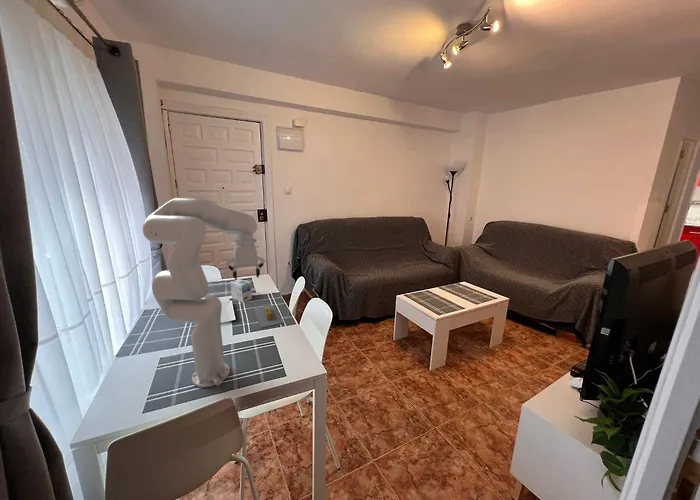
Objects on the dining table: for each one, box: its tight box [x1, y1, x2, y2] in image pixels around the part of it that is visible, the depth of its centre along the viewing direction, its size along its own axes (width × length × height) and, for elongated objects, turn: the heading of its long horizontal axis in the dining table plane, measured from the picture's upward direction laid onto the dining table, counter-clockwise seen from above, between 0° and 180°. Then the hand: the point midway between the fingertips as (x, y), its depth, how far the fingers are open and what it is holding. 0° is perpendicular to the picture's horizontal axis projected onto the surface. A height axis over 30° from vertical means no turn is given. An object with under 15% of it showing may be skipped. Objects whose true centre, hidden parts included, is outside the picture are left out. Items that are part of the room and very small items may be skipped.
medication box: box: [262, 303, 273, 321], centre depth 146 cm, size 12×3×4 cm, turn 27°
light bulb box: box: [230, 278, 253, 303], centre depth 166 cm, size 11×7×11 cm, turn 58°
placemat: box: [253, 304, 284, 329], centre depth 147 cm, size 22×11×1 cm, turn 27°
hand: (246, 278), depth 131 cm, fingers open, 9 cm apart
